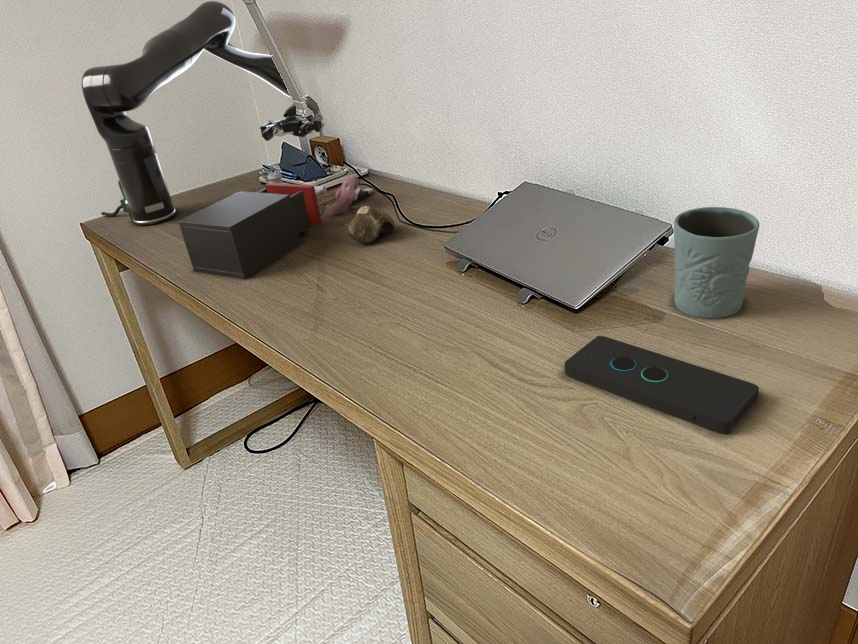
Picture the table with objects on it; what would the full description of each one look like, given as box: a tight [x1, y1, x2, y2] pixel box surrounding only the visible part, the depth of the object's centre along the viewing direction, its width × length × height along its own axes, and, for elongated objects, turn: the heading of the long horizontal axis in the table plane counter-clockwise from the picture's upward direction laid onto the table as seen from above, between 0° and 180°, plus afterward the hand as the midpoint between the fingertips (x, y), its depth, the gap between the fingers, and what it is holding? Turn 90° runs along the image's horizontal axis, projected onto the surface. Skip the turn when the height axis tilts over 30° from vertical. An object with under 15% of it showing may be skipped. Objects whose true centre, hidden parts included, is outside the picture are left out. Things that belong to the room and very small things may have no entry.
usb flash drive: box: [351, 187, 375, 205], centre depth 152 cm, size 9×5×1 cm, turn 147°
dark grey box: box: [177, 190, 302, 280], centre depth 127 cm, size 16×13×10 cm
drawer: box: [256, 182, 328, 234], centre depth 136 cm, size 21×12×8 cm, turn 151°
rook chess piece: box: [267, 170, 284, 184], centre depth 151 cm, size 4×4×8 cm
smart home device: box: [564, 335, 760, 435], centre depth 79 cm, size 8×2×20 cm
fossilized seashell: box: [344, 205, 397, 244], centre depth 129 cm, size 8×7×10 cm
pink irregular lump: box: [330, 176, 359, 216], centre depth 146 cm, size 10×5×7 cm, turn 0°
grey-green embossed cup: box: [673, 206, 760, 319], centre depth 91 cm, size 10×10×12 cm
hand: (283, 134), depth 156 cm, fingers open, 8 cm apart
